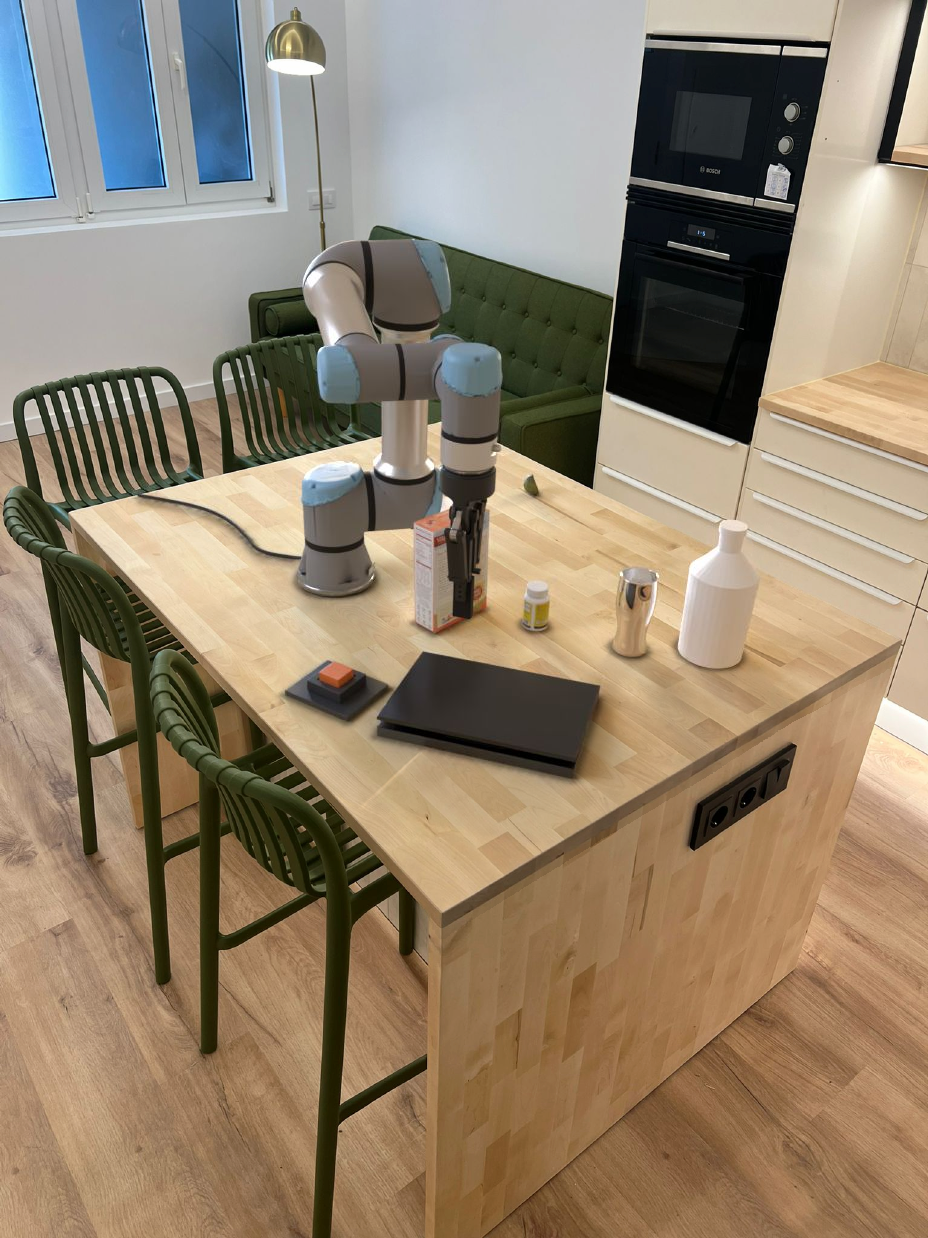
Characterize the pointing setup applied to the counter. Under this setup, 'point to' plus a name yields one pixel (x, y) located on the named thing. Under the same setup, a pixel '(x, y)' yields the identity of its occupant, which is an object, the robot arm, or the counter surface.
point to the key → (336, 674)
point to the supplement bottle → (536, 606)
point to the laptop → (483, 748)
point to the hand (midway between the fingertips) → (462, 615)
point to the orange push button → (337, 693)
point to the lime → (531, 485)
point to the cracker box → (442, 573)
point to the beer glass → (634, 609)
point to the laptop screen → (493, 705)
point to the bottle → (719, 602)
